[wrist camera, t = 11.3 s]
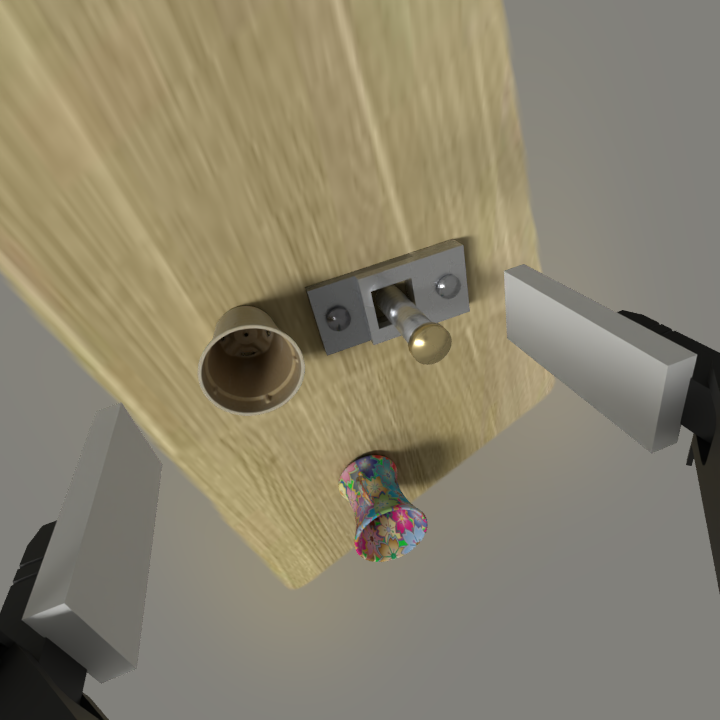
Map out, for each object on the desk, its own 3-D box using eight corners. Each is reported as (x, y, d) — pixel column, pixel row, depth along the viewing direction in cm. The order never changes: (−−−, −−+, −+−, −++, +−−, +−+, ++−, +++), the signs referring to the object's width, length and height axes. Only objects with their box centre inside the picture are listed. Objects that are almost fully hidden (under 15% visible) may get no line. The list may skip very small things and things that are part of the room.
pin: (368, 287, 49) (409, 334, 39) (400, 276, 50) (449, 321, 40) (375, 317, 51) (415, 370, 41) (406, 306, 52) (453, 356, 42)
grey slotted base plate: (305, 287, 47) (310, 298, 45) (452, 238, 49) (466, 246, 47) (324, 350, 51) (330, 363, 49) (460, 303, 54) (472, 313, 51)
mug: (407, 476, 66) (438, 535, 57) (352, 509, 66) (374, 572, 57) (373, 424, 59) (402, 482, 50) (312, 460, 59) (330, 524, 50)
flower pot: (265, 274, 45) (276, 306, 38) (304, 346, 51) (321, 387, 43) (180, 315, 45) (175, 356, 38) (229, 384, 50) (232, 431, 43)
